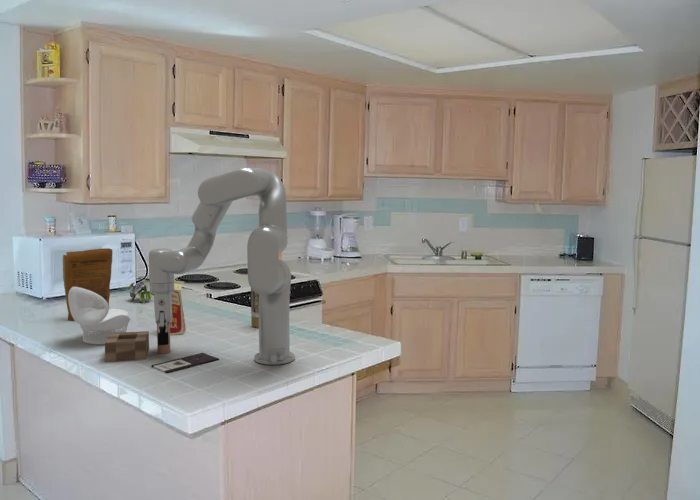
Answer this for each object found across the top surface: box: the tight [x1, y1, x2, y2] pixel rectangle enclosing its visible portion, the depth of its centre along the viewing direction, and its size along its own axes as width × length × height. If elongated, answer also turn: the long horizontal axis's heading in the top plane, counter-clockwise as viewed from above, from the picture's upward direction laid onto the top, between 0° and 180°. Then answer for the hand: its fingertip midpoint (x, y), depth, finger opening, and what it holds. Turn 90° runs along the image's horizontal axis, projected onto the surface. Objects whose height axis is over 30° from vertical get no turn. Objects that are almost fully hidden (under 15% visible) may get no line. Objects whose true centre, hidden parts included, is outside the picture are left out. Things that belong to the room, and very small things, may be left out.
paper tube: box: [250, 288, 259, 328], centre depth 232 cm, size 7×7×25 cm
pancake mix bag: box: [62, 247, 113, 322], centre depth 242 cm, size 7×19×28 cm, turn 125°
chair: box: [68, 287, 131, 345], centre depth 211 cm, size 20×20×20 cm
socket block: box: [104, 330, 150, 363], centre depth 194 cm, size 12×12×6 cm
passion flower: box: [127, 278, 154, 304], centre depth 278 cm, size 11×11×12 cm
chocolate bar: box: [150, 352, 220, 374], centre depth 187 cm, size 9×1×18 cm
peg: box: [156, 321, 172, 355], centre depth 198 cm, size 4×4×12 cm
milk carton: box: [170, 280, 187, 336], centre depth 223 cm, size 9×9×20 cm
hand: (163, 341), depth 198 cm, fingers open, 4 cm apart
